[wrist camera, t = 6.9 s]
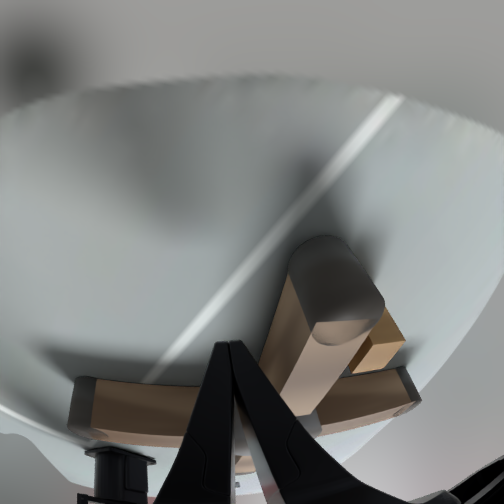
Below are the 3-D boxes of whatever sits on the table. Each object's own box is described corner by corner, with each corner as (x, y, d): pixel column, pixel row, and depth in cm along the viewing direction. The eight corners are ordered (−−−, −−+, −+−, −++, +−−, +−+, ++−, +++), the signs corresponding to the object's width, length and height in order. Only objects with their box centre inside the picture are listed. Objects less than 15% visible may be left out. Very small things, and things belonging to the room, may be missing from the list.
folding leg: (297, 368, 16) (311, 414, 13) (253, 371, 15) (263, 420, 13) (358, 237, 11) (397, 289, 8) (297, 232, 10) (327, 290, 8)
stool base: (342, 431, 27) (351, 457, 24) (112, 441, 21) (111, 473, 18) (469, 288, 15) (498, 325, 12) (27, 267, 9) (-8, 332, 6)
